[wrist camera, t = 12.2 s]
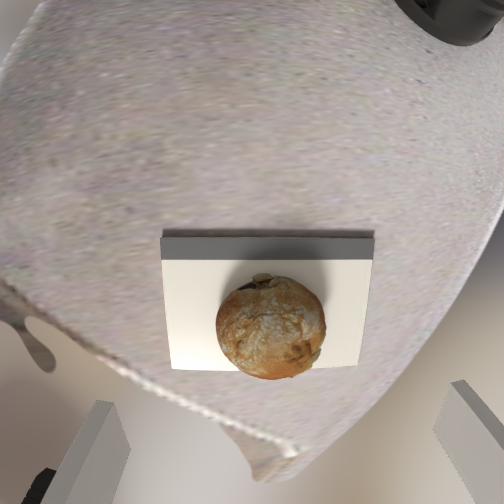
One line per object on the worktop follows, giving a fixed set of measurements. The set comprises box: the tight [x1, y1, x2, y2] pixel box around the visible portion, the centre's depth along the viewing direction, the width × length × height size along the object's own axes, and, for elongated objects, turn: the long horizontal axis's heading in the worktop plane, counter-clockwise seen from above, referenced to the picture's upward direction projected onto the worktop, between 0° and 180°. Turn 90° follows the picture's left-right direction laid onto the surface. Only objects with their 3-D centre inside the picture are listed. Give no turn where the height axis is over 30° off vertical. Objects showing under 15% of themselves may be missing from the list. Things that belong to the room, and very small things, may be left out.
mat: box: [160, 237, 375, 371], centre depth 31 cm, size 20×14×1 cm
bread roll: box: [215, 273, 327, 380], centre depth 29 cm, size 10×10×8 cm
